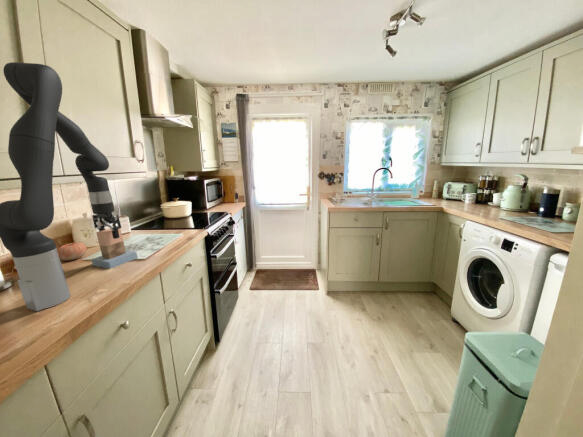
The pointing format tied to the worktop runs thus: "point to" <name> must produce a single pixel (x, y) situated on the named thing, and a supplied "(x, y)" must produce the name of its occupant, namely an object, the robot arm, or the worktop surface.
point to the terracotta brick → (108, 237)
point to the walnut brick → (113, 250)
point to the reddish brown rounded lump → (71, 251)
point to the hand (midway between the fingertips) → (110, 237)
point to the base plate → (114, 260)
